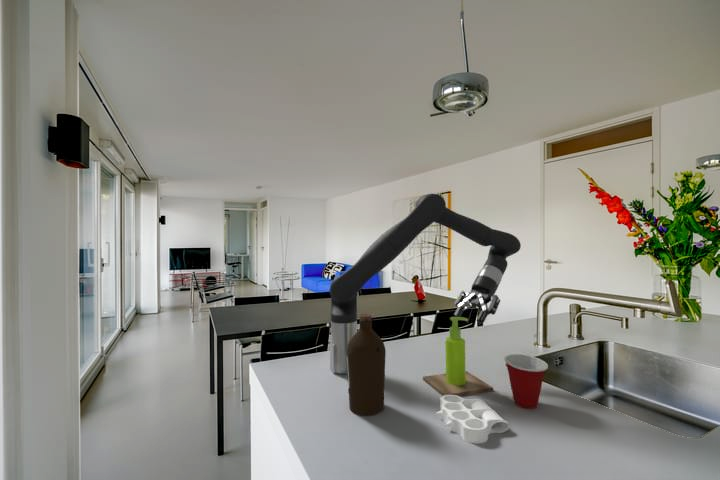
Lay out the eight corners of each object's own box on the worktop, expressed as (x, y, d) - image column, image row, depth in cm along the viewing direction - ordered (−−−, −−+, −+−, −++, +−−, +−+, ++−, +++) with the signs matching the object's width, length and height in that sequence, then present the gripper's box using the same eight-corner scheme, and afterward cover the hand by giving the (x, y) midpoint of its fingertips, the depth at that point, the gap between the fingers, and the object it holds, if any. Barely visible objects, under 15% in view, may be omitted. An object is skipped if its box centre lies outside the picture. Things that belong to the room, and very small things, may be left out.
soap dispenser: (470, 386, 103) (469, 319, 103) (446, 384, 104) (445, 319, 104) (467, 378, 109) (466, 315, 109) (445, 377, 110) (444, 315, 110)
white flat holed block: (517, 441, 77) (455, 447, 75) (478, 404, 94) (427, 408, 92) (517, 426, 77) (455, 432, 75) (478, 392, 94) (427, 396, 92)
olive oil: (391, 401, 96) (389, 312, 96) (379, 420, 86) (377, 320, 86) (356, 396, 99) (354, 310, 100) (340, 413, 90) (339, 317, 90)
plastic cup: (531, 418, 86) (530, 370, 86) (496, 400, 95) (495, 357, 96) (558, 407, 91) (557, 362, 91) (522, 392, 100) (521, 351, 101)
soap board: (445, 398, 97) (445, 394, 97) (422, 379, 111) (422, 376, 111) (493, 390, 102) (493, 387, 102) (465, 373, 115) (465, 370, 115)
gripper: (464, 273, 121) (444, 309, 114) (502, 275, 109) (481, 316, 103) (474, 286, 124) (454, 323, 117) (511, 290, 113) (492, 331, 106)
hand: (467, 320), depth 110 cm, fingers open, 8 cm apart
